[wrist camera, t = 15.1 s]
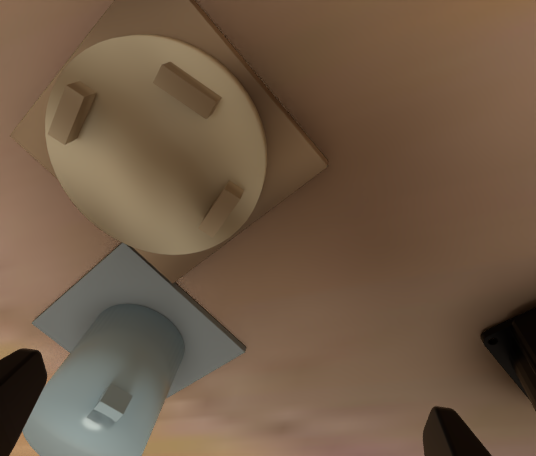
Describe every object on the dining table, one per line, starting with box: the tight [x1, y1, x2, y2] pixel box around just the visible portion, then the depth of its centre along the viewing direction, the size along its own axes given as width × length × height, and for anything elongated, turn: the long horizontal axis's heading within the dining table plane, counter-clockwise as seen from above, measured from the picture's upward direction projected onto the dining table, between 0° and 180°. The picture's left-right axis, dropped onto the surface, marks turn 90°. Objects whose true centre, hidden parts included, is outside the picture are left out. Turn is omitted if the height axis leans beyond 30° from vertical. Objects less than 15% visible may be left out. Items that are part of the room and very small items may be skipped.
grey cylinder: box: [23, 304, 185, 456], centre depth 24 cm, size 10×6×7 cm, turn 143°
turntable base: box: [10, 0, 328, 283], centre depth 20 cm, size 11×11×1 cm
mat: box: [32, 243, 246, 398], centre depth 26 cm, size 10×10×1 cm
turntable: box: [45, 34, 267, 255], centre depth 18 cm, size 10×10×2 cm
